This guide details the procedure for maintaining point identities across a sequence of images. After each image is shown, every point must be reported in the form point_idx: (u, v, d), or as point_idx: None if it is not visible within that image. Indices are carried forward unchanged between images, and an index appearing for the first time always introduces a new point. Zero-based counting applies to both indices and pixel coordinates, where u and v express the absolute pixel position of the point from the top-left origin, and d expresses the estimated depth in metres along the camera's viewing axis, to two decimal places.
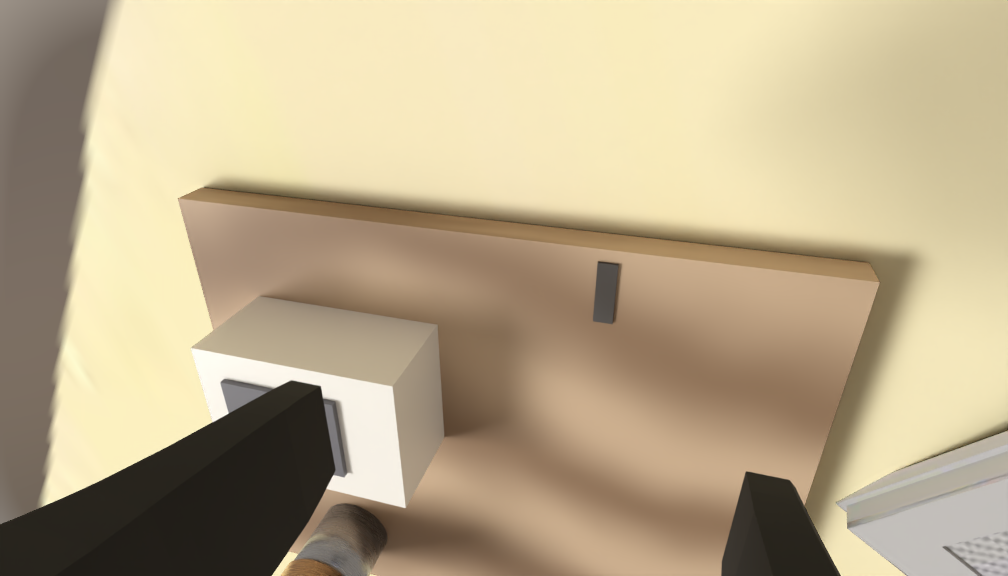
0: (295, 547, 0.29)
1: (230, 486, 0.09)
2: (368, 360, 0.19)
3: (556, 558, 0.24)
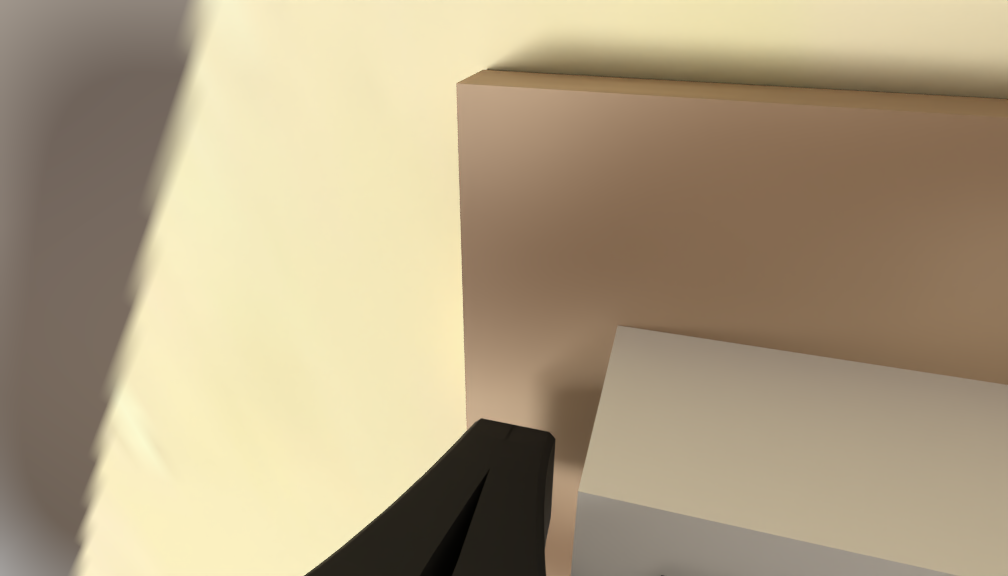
0: None
1: (461, 545, 0.08)
2: None
3: None
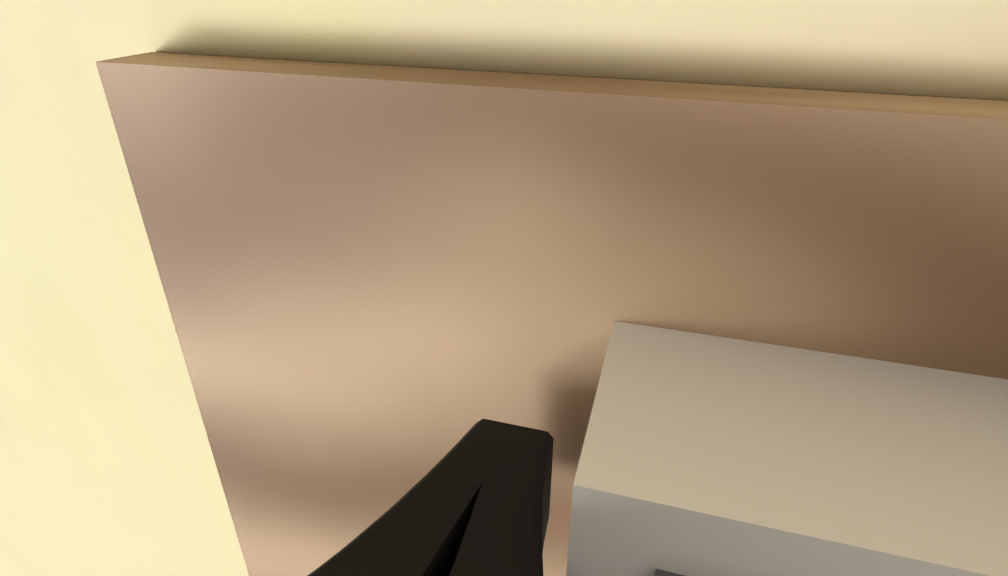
0: None
1: None
2: None
3: None
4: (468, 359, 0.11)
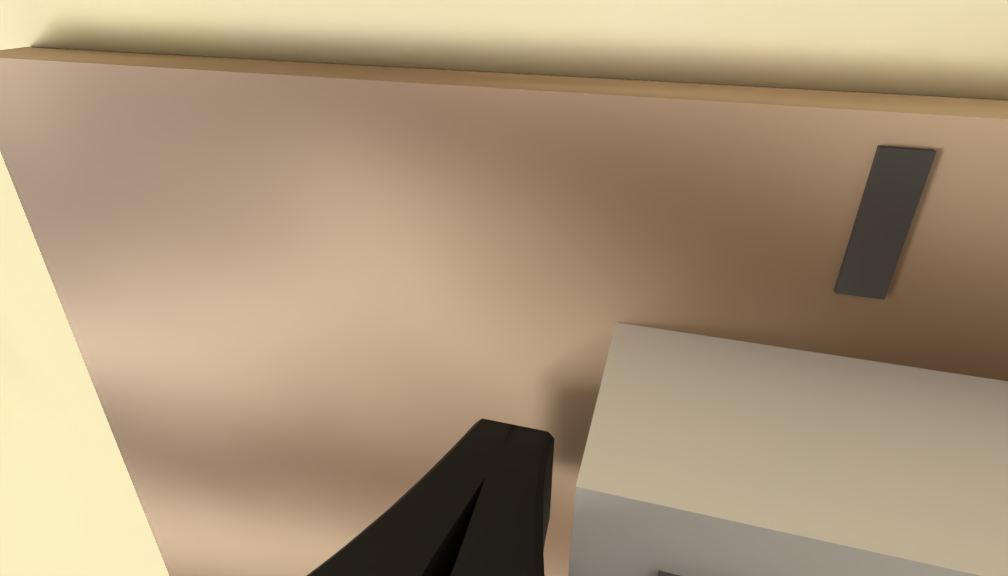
0: None
1: None
2: None
3: None
4: (319, 333, 0.11)
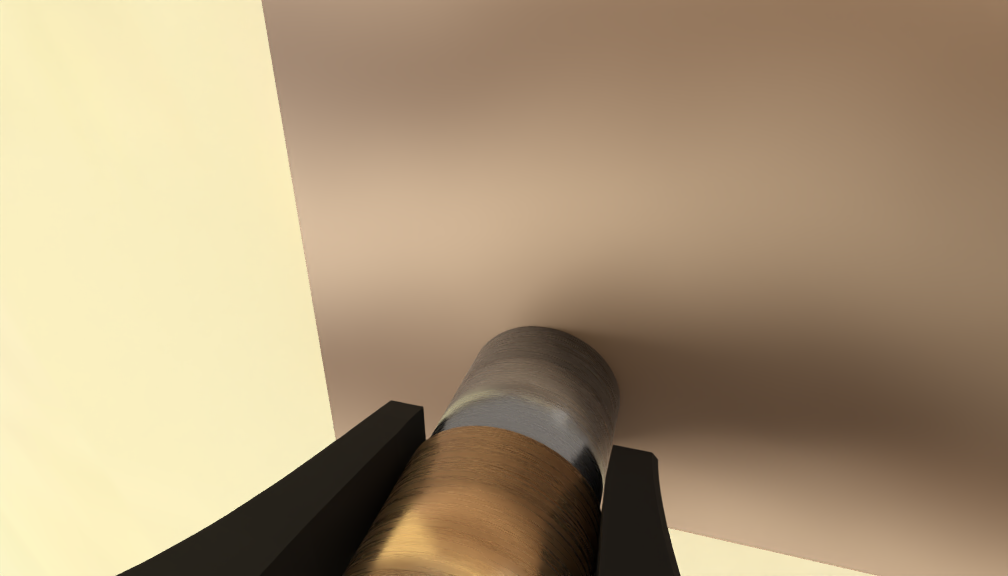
0: None
1: (350, 517, 0.08)
2: None
3: None
4: None
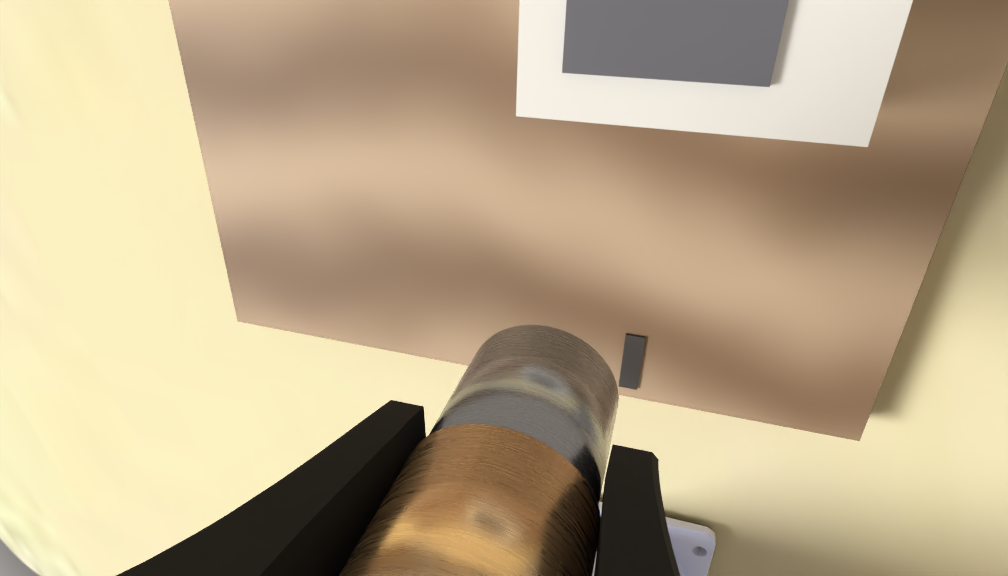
0: (267, 317, 0.23)
1: (350, 517, 0.08)
2: None
3: (610, 276, 0.18)
4: None
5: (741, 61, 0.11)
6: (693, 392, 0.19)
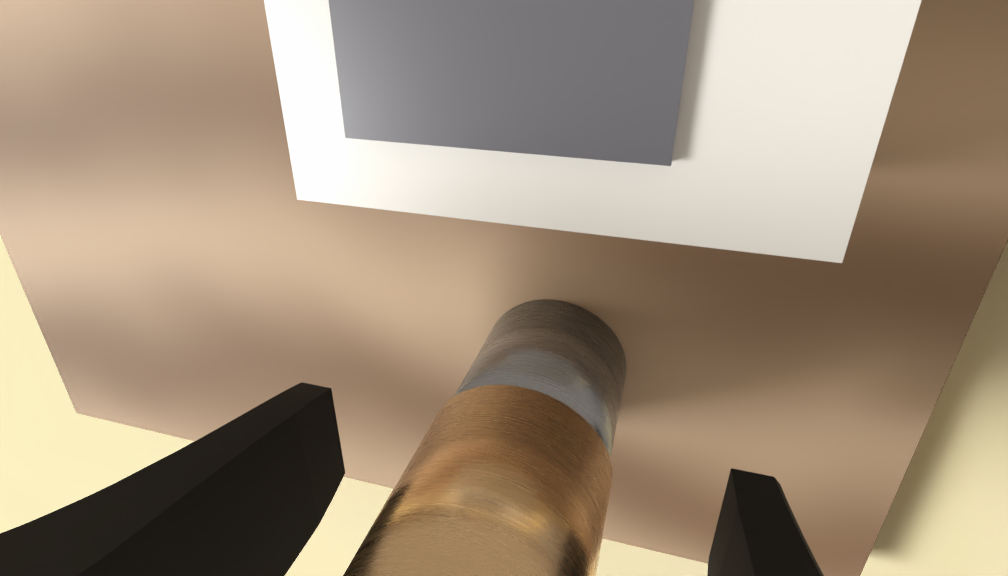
0: (108, 410, 0.18)
1: (242, 489, 0.09)
2: None
3: None
4: None
5: (620, 123, 0.07)
6: (629, 526, 0.15)
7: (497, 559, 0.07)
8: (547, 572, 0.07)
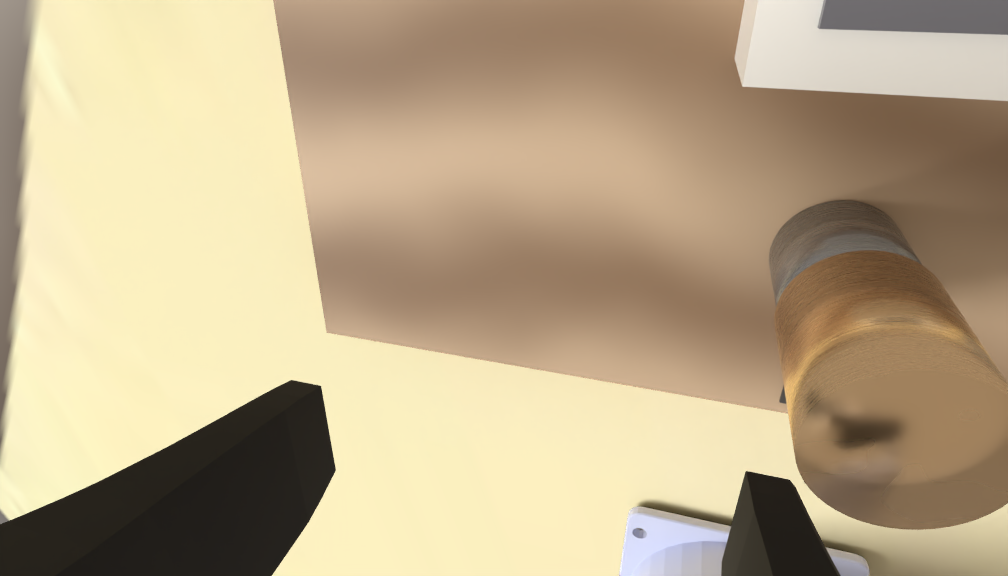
0: (361, 328, 0.21)
1: (230, 486, 0.09)
2: None
3: None
4: None
5: None
6: None
7: (962, 343, 0.09)
8: (990, 359, 0.09)
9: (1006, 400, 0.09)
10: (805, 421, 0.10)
